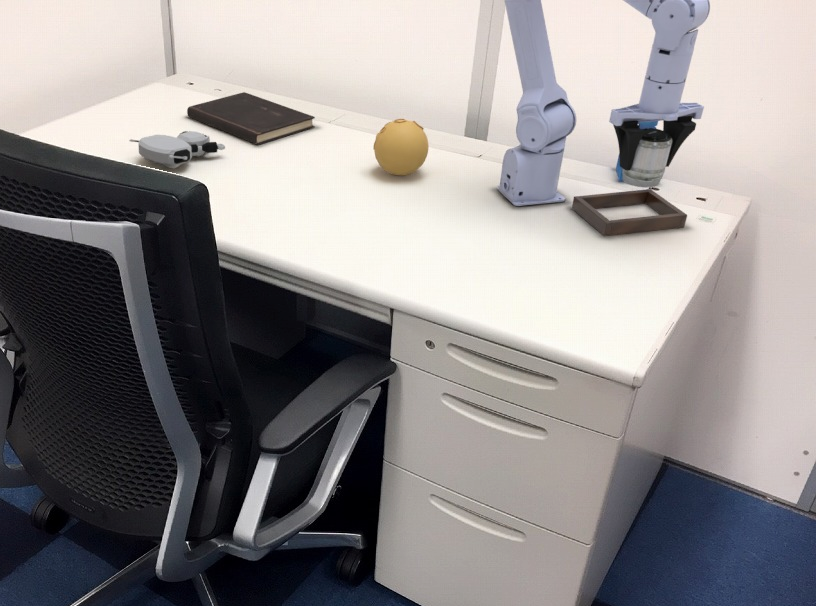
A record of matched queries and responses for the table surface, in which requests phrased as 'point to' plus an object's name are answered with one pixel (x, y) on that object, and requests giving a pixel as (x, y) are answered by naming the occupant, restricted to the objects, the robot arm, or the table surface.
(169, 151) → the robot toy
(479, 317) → the table surface
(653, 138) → the camera lens
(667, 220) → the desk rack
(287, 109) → the hardcover book
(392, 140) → the stress ball
